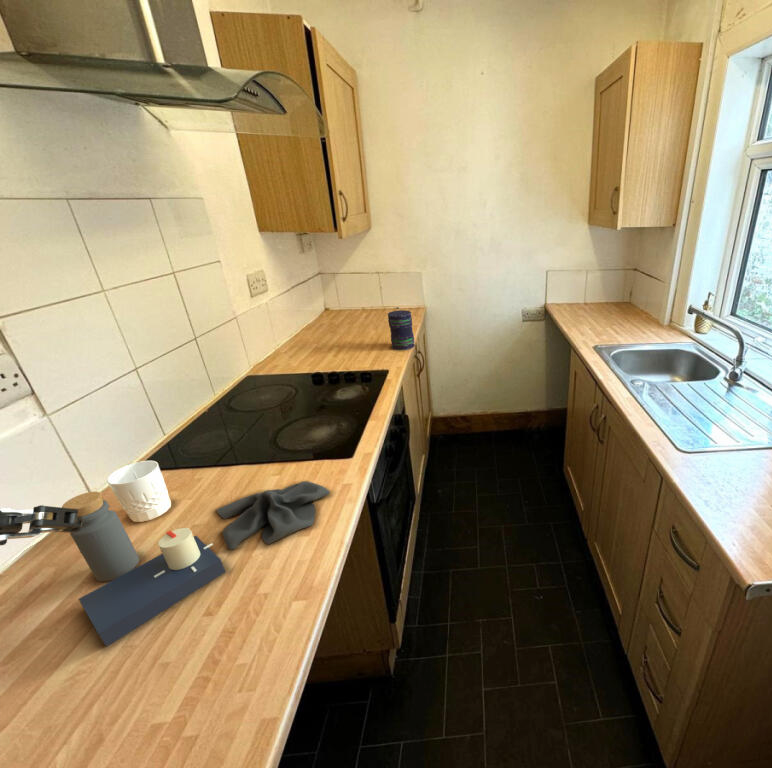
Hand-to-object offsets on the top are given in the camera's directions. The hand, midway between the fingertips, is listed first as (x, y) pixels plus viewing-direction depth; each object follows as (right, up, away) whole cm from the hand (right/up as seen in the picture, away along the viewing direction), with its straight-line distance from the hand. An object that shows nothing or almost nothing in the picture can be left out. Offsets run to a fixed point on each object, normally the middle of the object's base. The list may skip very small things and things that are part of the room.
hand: (42, 530), depth 60 cm
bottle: (-2, -11, +13) cm, 18 cm away
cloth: (+18, -6, +26) cm, 32 cm away
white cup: (-8, -6, +27) cm, 29 cm away
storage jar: (+20, +38, +123) cm, 130 cm away
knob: (+12, -9, +11) cm, 18 cm away
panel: (+9, -13, +9) cm, 18 cm away
